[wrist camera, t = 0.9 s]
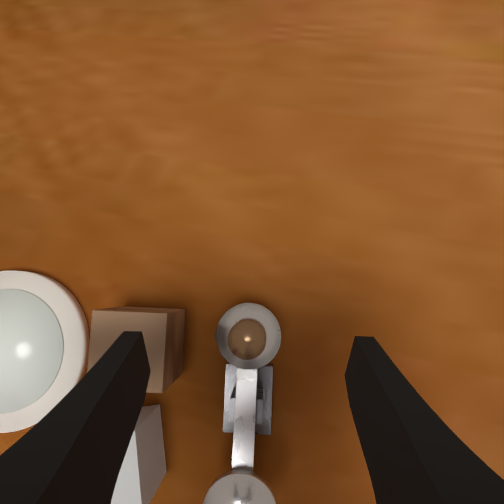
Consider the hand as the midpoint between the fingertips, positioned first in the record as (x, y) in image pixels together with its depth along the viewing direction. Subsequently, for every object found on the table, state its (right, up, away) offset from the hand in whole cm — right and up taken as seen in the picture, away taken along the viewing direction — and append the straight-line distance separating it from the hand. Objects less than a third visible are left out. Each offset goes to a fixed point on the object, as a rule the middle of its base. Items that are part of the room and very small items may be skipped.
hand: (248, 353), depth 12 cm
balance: (0, -6, +12) cm, 13 cm away
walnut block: (-7, -3, +12) cm, 15 cm away
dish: (-17, -3, +13) cm, 22 cm away
